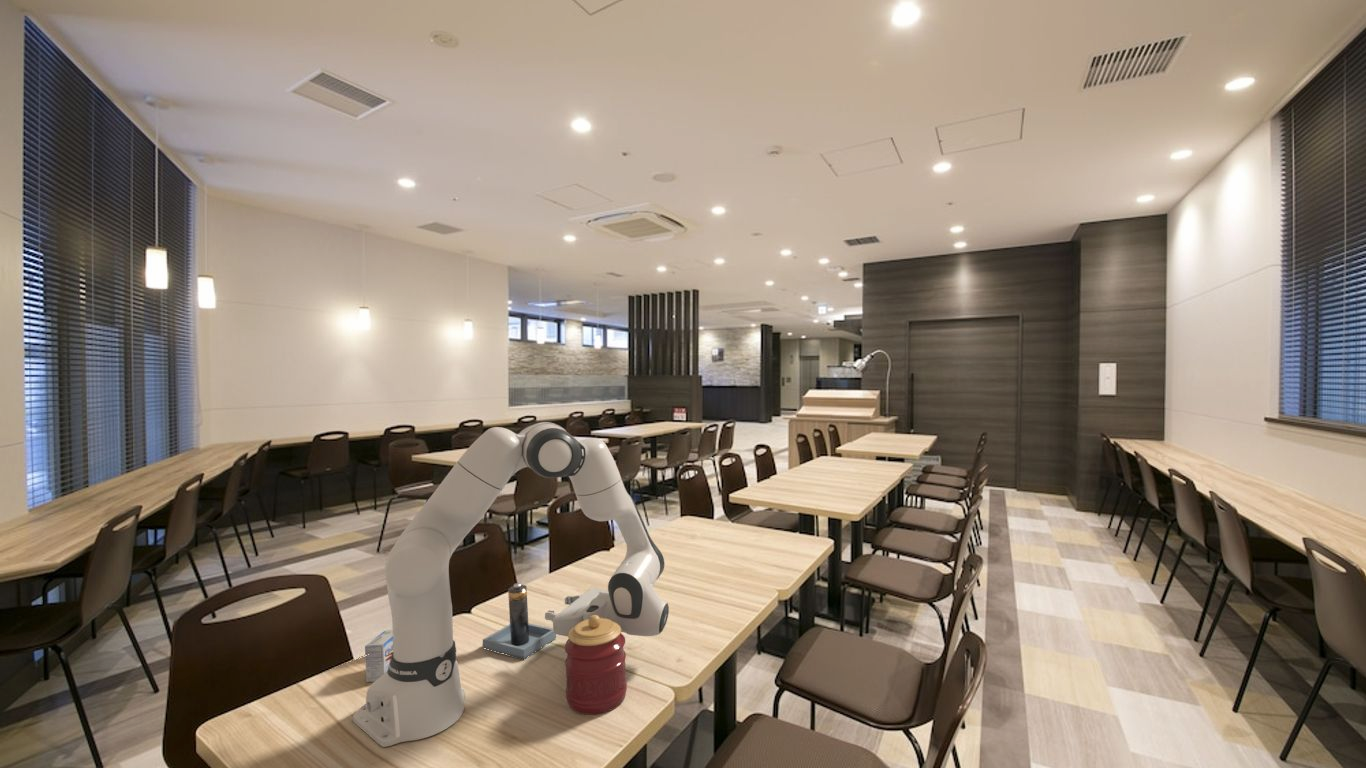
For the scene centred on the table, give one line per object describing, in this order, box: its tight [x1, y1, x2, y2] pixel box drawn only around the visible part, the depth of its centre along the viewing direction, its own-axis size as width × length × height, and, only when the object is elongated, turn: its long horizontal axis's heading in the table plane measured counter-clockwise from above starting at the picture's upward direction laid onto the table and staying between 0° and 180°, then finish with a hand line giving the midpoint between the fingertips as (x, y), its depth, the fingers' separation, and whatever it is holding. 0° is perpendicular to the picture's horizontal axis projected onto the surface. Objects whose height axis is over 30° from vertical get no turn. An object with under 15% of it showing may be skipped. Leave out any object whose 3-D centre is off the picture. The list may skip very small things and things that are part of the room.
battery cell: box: [507, 582, 529, 646], centre depth 139 cm, size 5×5×15 cm
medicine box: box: [364, 629, 393, 683], centre depth 127 cm, size 8×4×9 cm, turn 179°
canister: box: [563, 615, 628, 715], centre depth 114 cm, size 13×13×18 cm
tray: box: [482, 622, 557, 661], centre depth 139 cm, size 14×12×2 cm
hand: (556, 607), depth 136 cm, fingers open, 8 cm apart
